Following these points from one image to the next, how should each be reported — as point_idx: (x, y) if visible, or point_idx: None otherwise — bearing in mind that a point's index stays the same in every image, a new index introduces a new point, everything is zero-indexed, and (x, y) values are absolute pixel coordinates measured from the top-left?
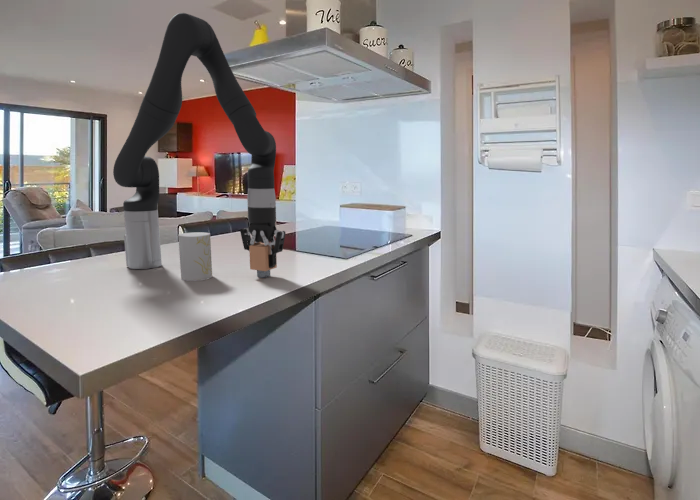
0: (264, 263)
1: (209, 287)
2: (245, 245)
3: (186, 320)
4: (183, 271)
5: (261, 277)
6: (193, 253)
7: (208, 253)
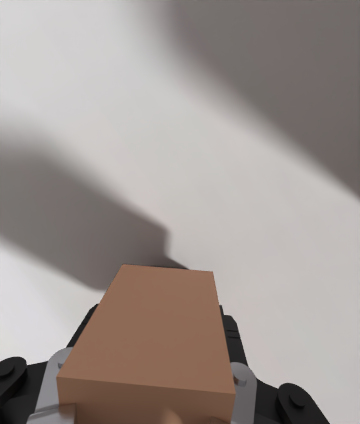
0: (116, 286)
1: (286, 28)
2: (305, 422)
3: None
4: None
5: (167, 267)
6: None
7: None
